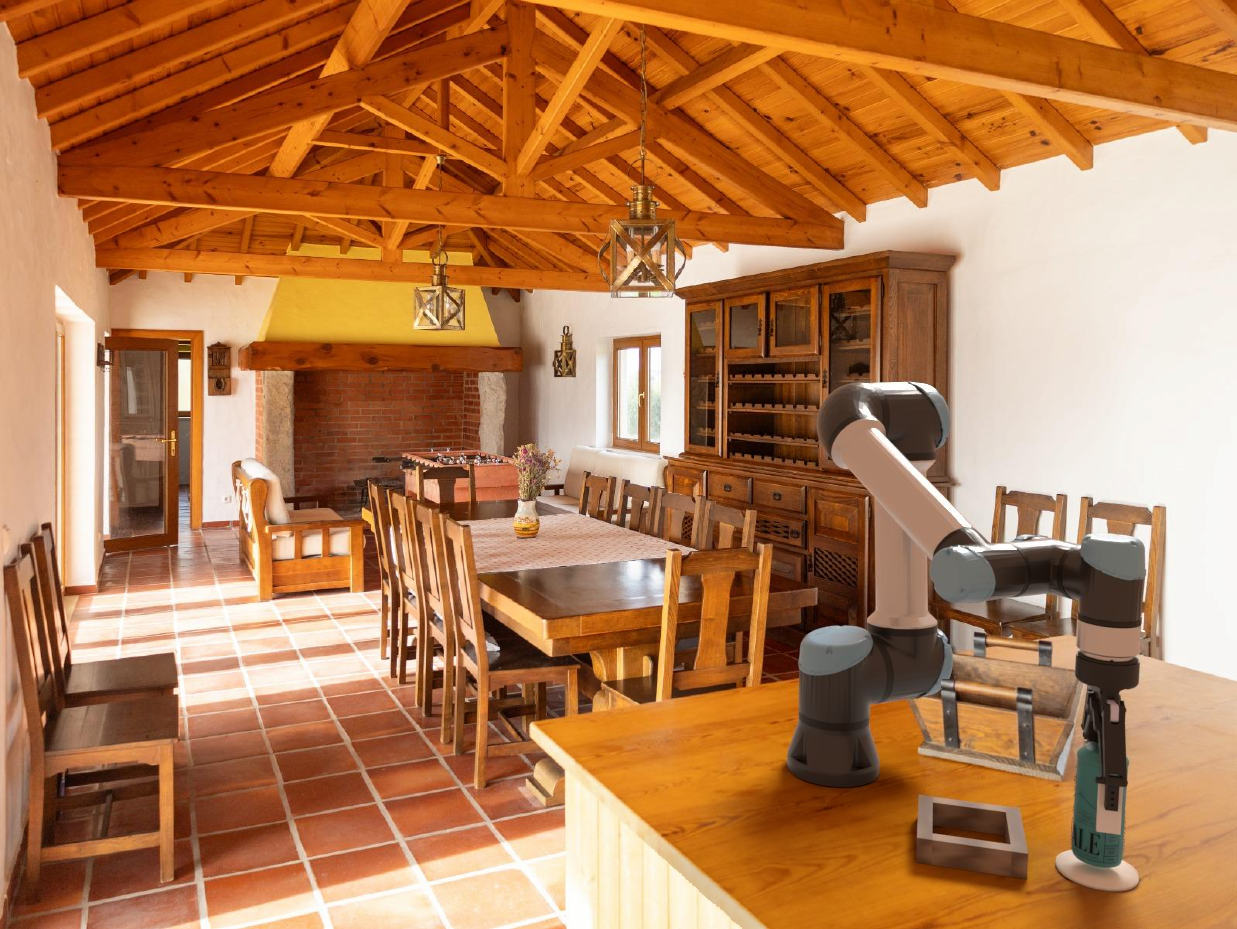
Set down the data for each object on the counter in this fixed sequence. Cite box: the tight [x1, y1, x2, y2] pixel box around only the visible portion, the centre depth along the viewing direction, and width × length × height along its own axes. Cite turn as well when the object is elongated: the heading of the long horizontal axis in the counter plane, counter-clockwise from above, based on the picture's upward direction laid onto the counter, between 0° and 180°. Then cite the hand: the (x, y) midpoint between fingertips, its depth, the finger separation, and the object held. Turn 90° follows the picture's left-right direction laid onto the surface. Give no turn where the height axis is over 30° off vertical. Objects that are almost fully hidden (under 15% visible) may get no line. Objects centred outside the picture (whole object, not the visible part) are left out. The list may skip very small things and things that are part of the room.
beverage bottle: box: [1070, 721, 1130, 868], centre depth 129 cm, size 6×7×20 cm
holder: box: [915, 794, 1029, 880], centre depth 136 cm, size 14×14×4 cm
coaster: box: [1055, 849, 1140, 893], centre depth 130 cm, size 10×10×1 cm
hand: (1099, 809), depth 129 cm, fingers open, 13 cm apart
